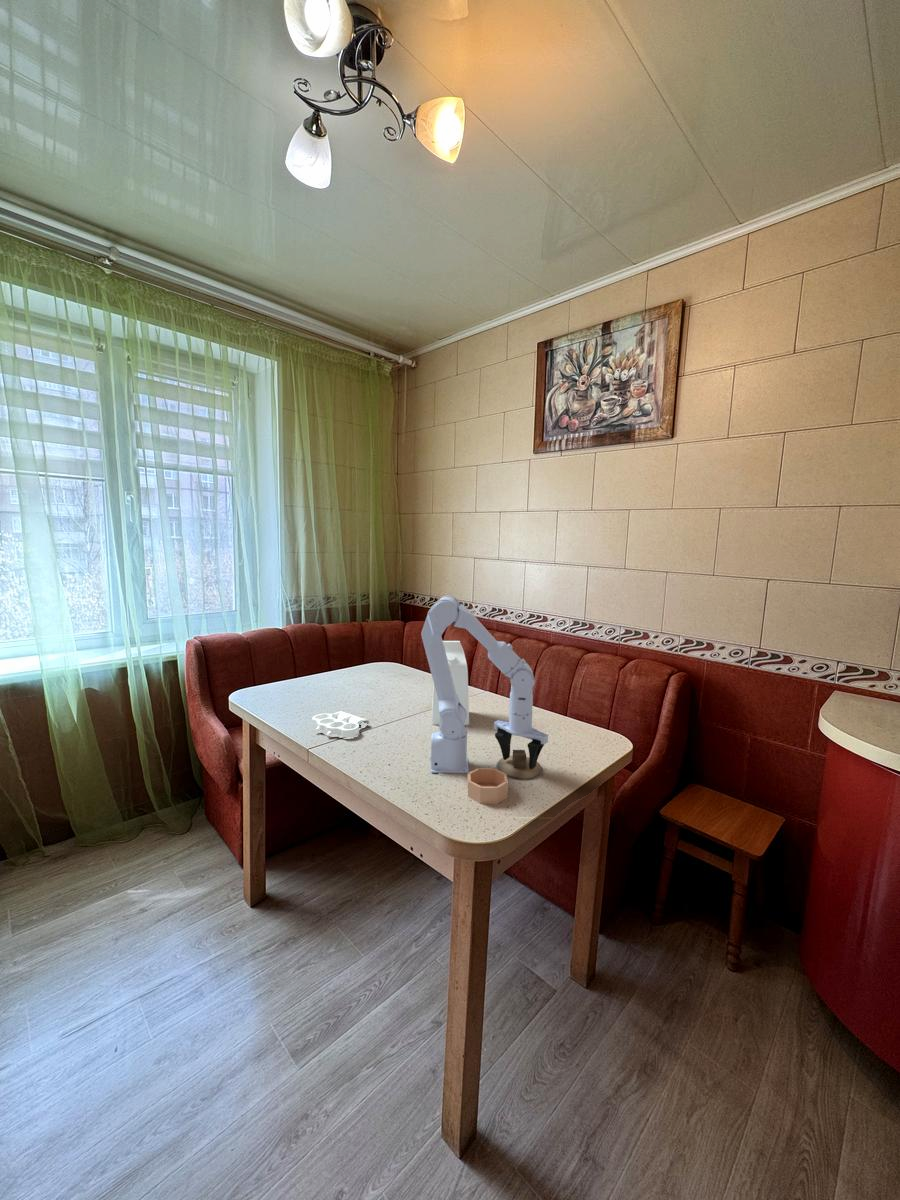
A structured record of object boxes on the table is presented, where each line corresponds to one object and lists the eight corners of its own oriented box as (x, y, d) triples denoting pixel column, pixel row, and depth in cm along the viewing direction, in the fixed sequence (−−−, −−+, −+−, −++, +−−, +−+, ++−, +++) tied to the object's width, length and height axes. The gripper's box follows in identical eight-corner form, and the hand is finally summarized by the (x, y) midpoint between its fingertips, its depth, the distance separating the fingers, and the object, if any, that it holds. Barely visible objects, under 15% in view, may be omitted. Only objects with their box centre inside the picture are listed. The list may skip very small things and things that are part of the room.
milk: (466, 711, 155) (467, 637, 152) (469, 724, 144) (470, 645, 141) (432, 711, 155) (432, 637, 152) (431, 724, 144) (432, 645, 141)
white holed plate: (376, 729, 140) (340, 746, 129) (338, 716, 151) (301, 730, 139) (376, 719, 140) (340, 735, 128) (337, 706, 150) (300, 720, 138)
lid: (499, 779, 110) (500, 762, 109) (495, 758, 121) (495, 742, 120) (544, 779, 110) (545, 763, 109) (536, 758, 121) (537, 743, 120)
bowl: (468, 804, 99) (468, 787, 99) (467, 783, 108) (467, 767, 108) (509, 805, 99) (509, 788, 99) (504, 783, 108) (505, 768, 108)
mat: (497, 781, 109) (497, 780, 109) (493, 758, 121) (493, 757, 121) (547, 782, 109) (547, 780, 109) (538, 759, 121) (538, 757, 121)
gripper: (554, 713, 112) (552, 765, 114) (504, 701, 121) (503, 749, 123) (541, 722, 106) (539, 776, 108) (490, 708, 115) (488, 758, 117)
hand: (519, 762), depth 115 cm, fingers open, 7 cm apart
